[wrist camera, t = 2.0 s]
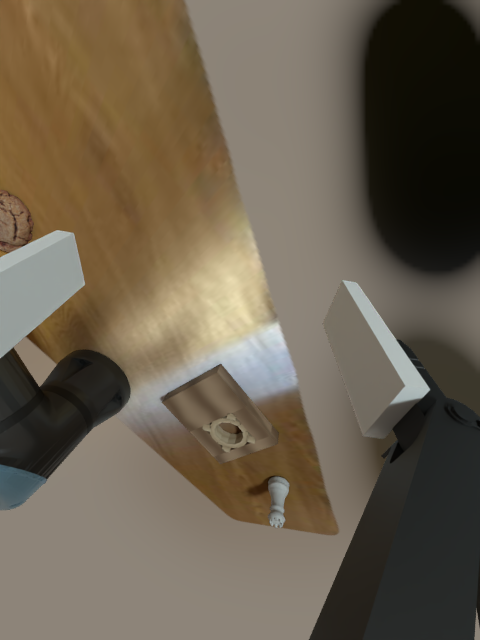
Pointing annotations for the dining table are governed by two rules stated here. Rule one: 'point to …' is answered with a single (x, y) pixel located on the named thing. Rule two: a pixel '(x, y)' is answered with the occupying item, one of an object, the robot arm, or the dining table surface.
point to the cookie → (14, 223)
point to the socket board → (221, 415)
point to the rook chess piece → (277, 499)
